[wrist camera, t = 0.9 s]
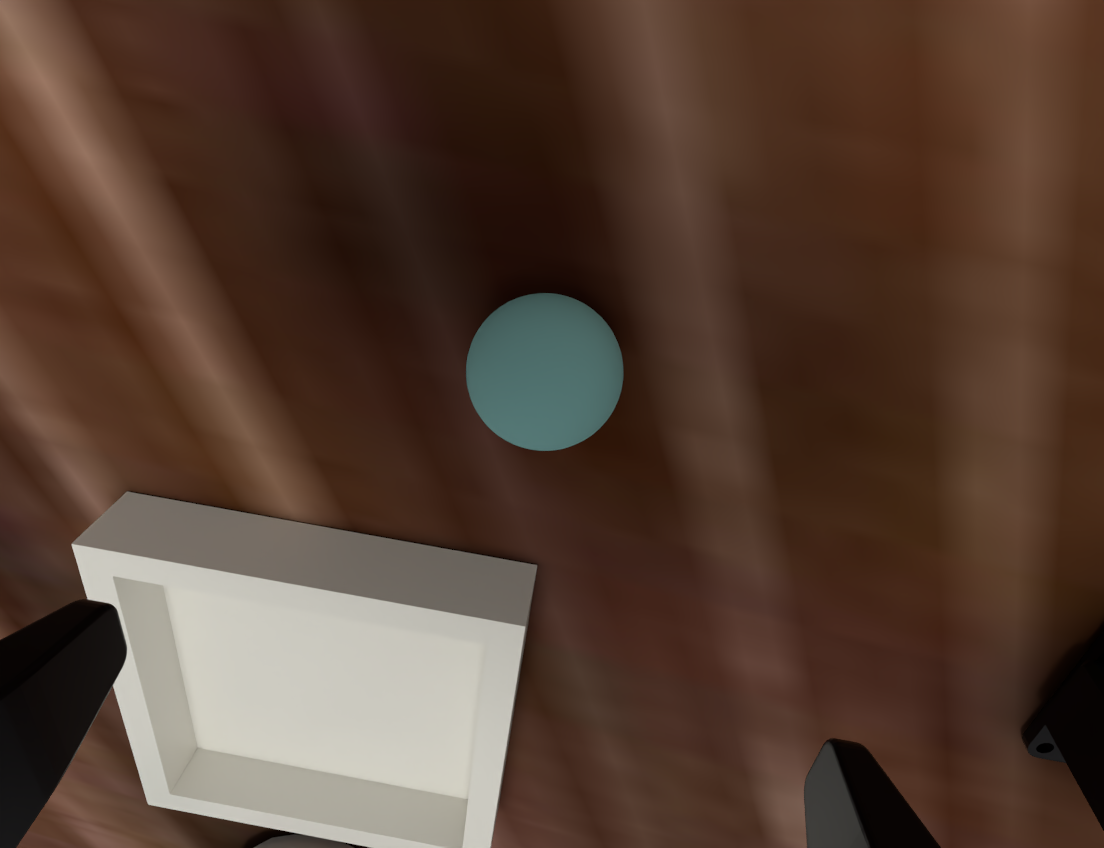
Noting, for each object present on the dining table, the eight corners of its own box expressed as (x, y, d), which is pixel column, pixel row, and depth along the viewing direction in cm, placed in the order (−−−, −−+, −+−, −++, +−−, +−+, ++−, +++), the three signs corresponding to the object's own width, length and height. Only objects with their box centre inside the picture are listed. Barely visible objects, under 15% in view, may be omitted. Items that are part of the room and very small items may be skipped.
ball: (638, 284, 17) (635, 347, 14) (611, 413, 19) (604, 494, 16) (489, 259, 17) (454, 317, 14) (478, 390, 19) (444, 466, 16)
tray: (537, 565, 22) (525, 626, 20) (498, 804, 28) (486, 869, 26) (126, 491, 22) (71, 543, 20) (184, 745, 29) (148, 804, 27)
